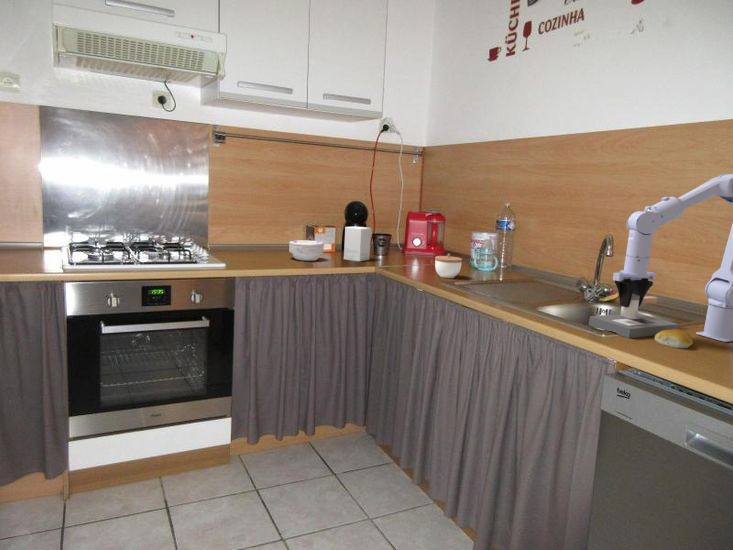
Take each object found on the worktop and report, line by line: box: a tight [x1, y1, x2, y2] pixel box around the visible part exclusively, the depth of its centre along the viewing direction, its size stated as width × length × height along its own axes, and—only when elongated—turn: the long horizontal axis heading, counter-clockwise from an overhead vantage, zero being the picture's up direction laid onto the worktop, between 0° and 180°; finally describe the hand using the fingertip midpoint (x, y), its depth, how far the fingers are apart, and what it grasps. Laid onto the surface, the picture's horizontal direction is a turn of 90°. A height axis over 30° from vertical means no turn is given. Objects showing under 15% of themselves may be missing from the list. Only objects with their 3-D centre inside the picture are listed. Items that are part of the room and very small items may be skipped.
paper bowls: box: [288, 239, 325, 262], centre depth 239 cm, size 15×15×8 cm
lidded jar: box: [434, 253, 463, 279], centre depth 217 cm, size 11×11×9 cm
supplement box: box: [343, 226, 372, 262], centre depth 248 cm, size 9×9×15 cm
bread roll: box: [654, 328, 694, 349], centre depth 138 cm, size 8×9×4 cm
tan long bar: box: [641, 295, 659, 304], centre depth 156 cm, size 12×3×2 cm, turn 112°
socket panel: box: [588, 312, 679, 339], centre depth 151 cm, size 20×13×6 cm, turn 117°
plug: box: [620, 294, 640, 318], centre depth 147 cm, size 4×4×6 cm
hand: (630, 306), depth 146 cm, fingers closed on plug, 4 cm apart
